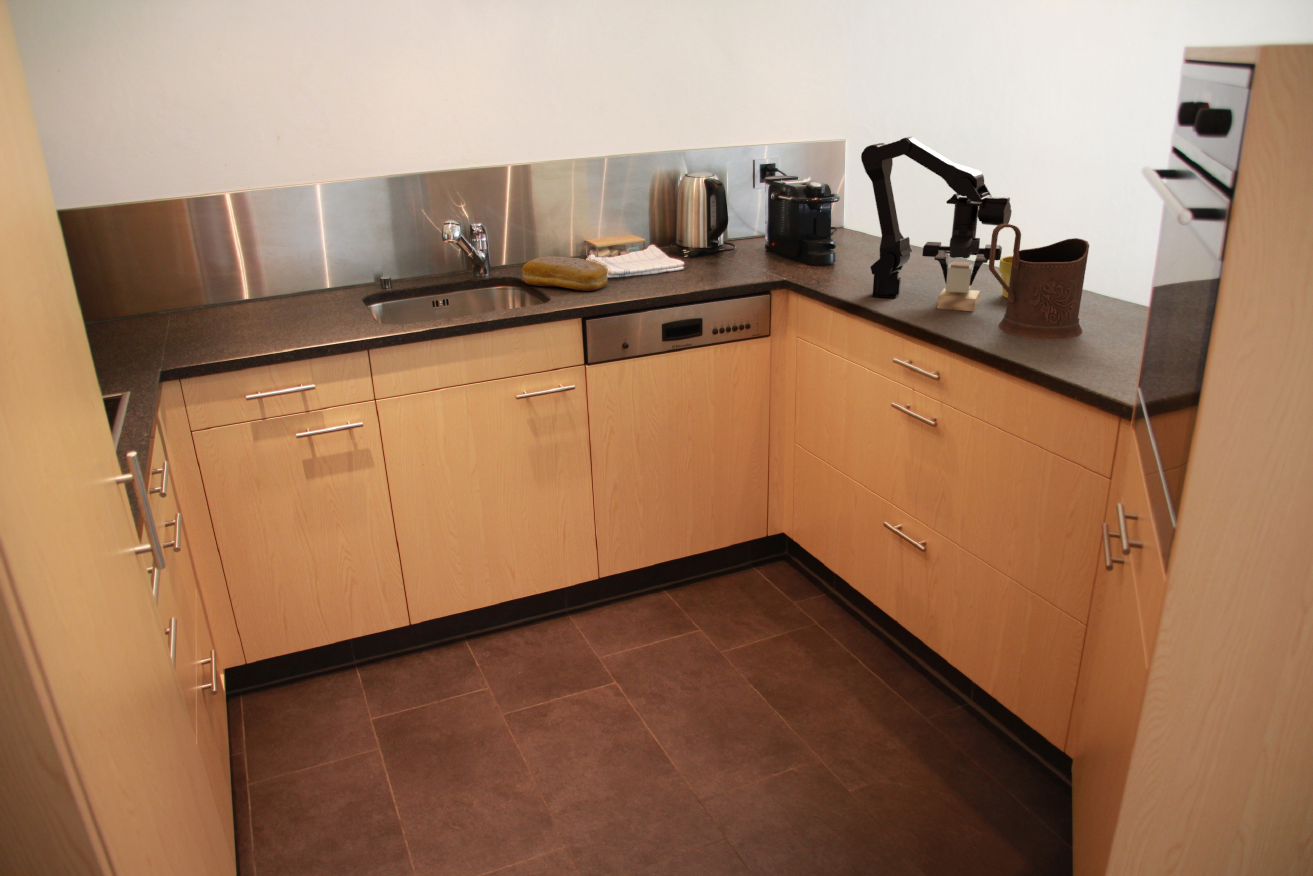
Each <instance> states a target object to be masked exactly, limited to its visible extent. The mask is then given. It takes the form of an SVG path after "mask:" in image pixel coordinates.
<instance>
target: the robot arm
mask: <svg viewBox="0 0 1313 876" xmlns="http://www.w3.org/2000/svg"><path fill="white" fill-rule="evenodd" d="M901 156H906V157H908V158H909V159H911V160H912V161H914V162H915V163H917V164H919V165H921V166H922V167H924V168H926V169H927V170H929V171H930V172H932V173H934V174H935V175H937V176H939V177H940V178H941V179H942V180H944V182H945V183H946V184H947V186H948V187H949V188H950V189H952V191H954V192H955V193H954V194H953V195H952V196H950V198H949V199H948V200H946V204H947V205H948V204H949V205H954V210H953V211H954V212H953V218H952V219H953V220H952V228H951V229H952V230H951V237H950V240H949V245H947V246H946V245H942V242H941V241H927V242H926V243H925V244H924V245H923V246H922V257H926V258H928V257H929V258H930V257H931V258H934V259H933V260H934V261H938V264H939V265H940V267H941V269H942V270H941V271H942V274H943V278H944V283H945V284H946V282H947V272H948V267H949V257H950V258H952V259H956V258H959V259H960V258H962V259H969V258H970V256H975V259H974V262H973V263H974V264H973V269H972V275H971V280H970V286H971V287H972V285H973V283H974V281H975V279H976V276H977V274H978V272H979V270H980V268H981V267H982V265H983V264H987V263H989V258H990V249H991V244H985V246H984V247H980V244H981V239H980V237H976V235H977V228H978V221H979V222H980V223H981V225H988V226H995V227H996V226H998V225H1000V224H1010V220H1011V218H1012V217H1011V216H1012V212H1013V211H1012V205H1011V203H1010V200H1011V198H1010V197H1008V196H1003V197H1000V196H999V197H998V196H996V197H995V196H992V194H991V192H990V190H989V189H988V186H986V184H985V177H984V174H983V173H982V171H980V170H978V169H976V168H972V167H969V166H966V165H963V164H958V163H956V162H953V161H952V160H950V159H948V158H947V157H945V156H943V155H941V153H938V152H936V151H935V150H934V149H931V148H930V147H928V146H926V145H925V144H923V143H921V142H920V141H918V140H917V139H916V138H915V137H913V136H908V137H903V138H900V139H899V140H896V141H892V142H890V143H884V142H879V143H875V144H870V145H868V146H866V147H865V148H864V149H863V151H862V152H861V155H860V158H861V159H860V160H861V164H862V166H863V168H864V171H865V174H866V175H867V176H868V177H869V179H870V181H871V182H872V183H871V184H872V189H873V194H874V199H875V205H876V206H875V207H876V211H877V217H878V221H879V223H878V224H879V228H880V232H881V240H880V244H879V259H878V260H877V261H875V262H873V264H872V265H871V266H870V271H871V274H872V275H873V284H872V292H871V295H870V296H871V297H874V298H885V299H887V298H888V299H889V298H890V299H896V298H897V296H898V295H899V294H900V293H901V284H902V276H901V277H900V271H902V269H903V267H904V265H905V264H906V265H907V263H908V261H909V260H910V258H911V253H912V252H913V250H912V248H911V245H910V244H911V243H910V242H911V241H910V240H911V239H910V237H909V236H907V237H904V236H903V234H902V233H901V230H900V225H899V220H898V214H897V209H896V208H897V207H896V202H895V198H894V192H893V191H894V190H893V185H892V180H891V175H892V171H893V170H892V169H893V163H894V162H893V159H894V158H898V157H901ZM1002 252H1003V246H1001V245H1000V244H997V247H996V255H995V261H1000V260H1001V258H1002Z"/></svg>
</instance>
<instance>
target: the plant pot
mask: <svg viewBox="0 0 1313 876" xmlns="http://www.w3.org/2000/svg"><path fill="white" fill-rule="evenodd" d="M1012 259H1013V255H1010V256H1009V255H1008V256H1004V257H1001V258H1000V260H999V267H998V268H999V269H998V273H1000V274H1001V276H1000V277H1001V278H1002V279H1003V281H1004V282H1005V283H1006V284H1007V286H1008V287H1009V283H1010V275H1011V267H1012ZM1001 286H1002V285H1001ZM1001 288H1002V295H1003V297H1004V298H1006V299H1008V293H1007V291H1006V290H1005V289H1004V288H1003V286H1002V287H1001Z"/></svg>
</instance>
